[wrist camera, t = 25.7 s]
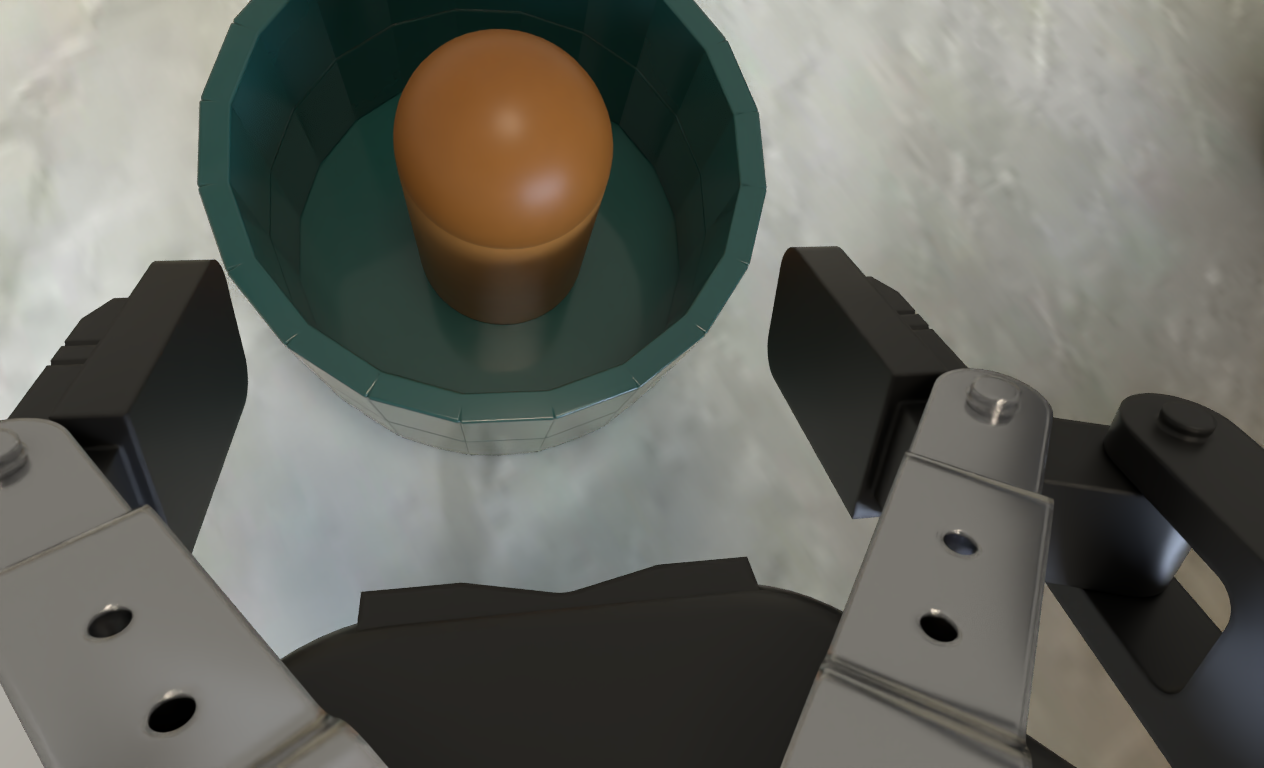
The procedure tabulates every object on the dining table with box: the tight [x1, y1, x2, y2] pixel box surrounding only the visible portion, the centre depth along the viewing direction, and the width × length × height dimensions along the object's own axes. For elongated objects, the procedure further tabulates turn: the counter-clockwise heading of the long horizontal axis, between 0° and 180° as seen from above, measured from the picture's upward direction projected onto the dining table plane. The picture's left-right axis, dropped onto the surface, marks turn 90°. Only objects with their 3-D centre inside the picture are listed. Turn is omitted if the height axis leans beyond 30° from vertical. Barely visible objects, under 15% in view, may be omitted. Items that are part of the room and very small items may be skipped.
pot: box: [197, 0, 766, 455], centre depth 23 cm, size 13×13×8 cm
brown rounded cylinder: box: [393, 29, 613, 325], centre depth 22 cm, size 5×5×10 cm
